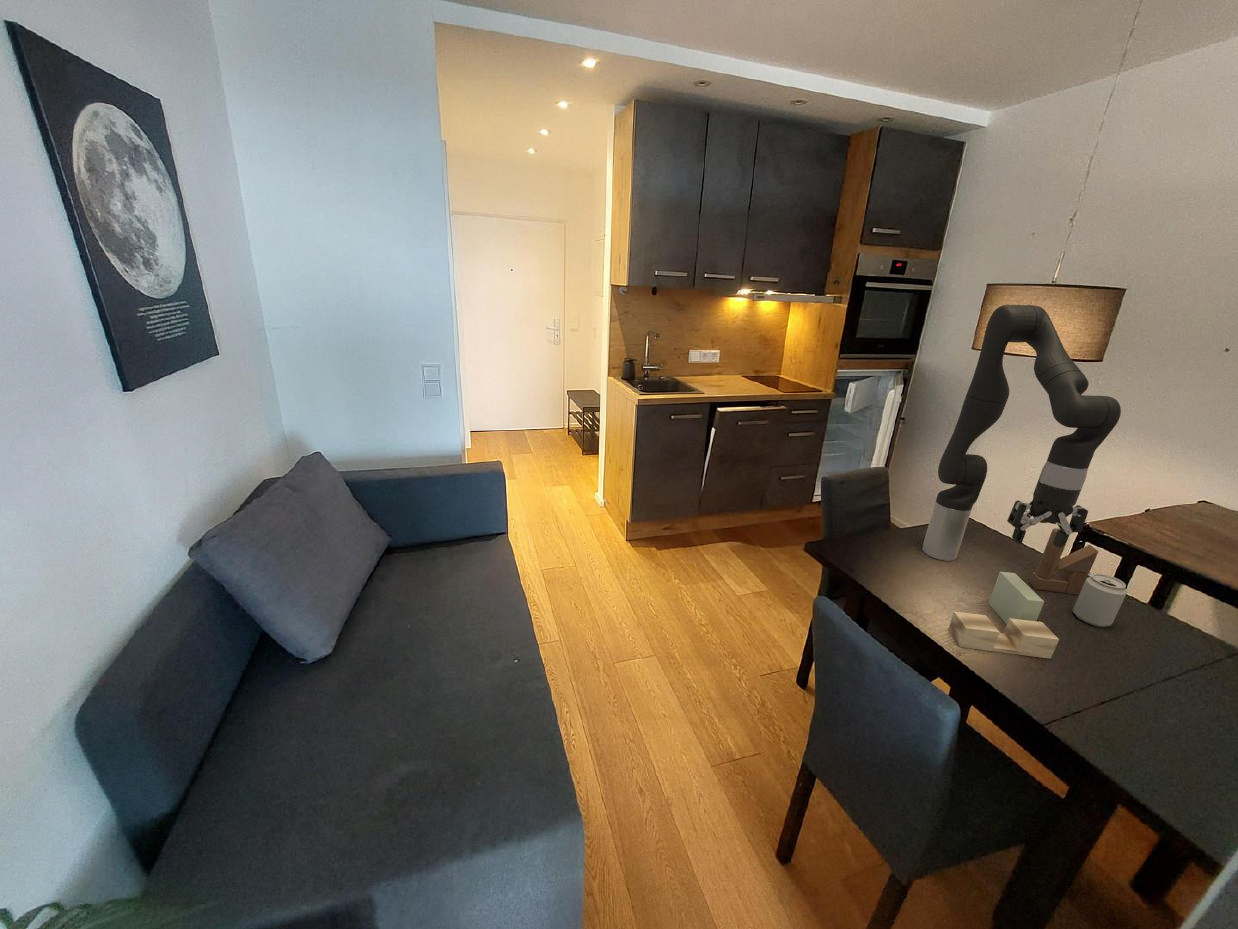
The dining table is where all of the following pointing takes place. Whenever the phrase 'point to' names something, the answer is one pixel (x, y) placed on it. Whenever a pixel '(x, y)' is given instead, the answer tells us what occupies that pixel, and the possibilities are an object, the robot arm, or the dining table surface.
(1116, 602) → the can
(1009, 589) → the sage green tall block
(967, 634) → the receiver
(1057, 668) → the dining table surface
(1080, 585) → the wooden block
